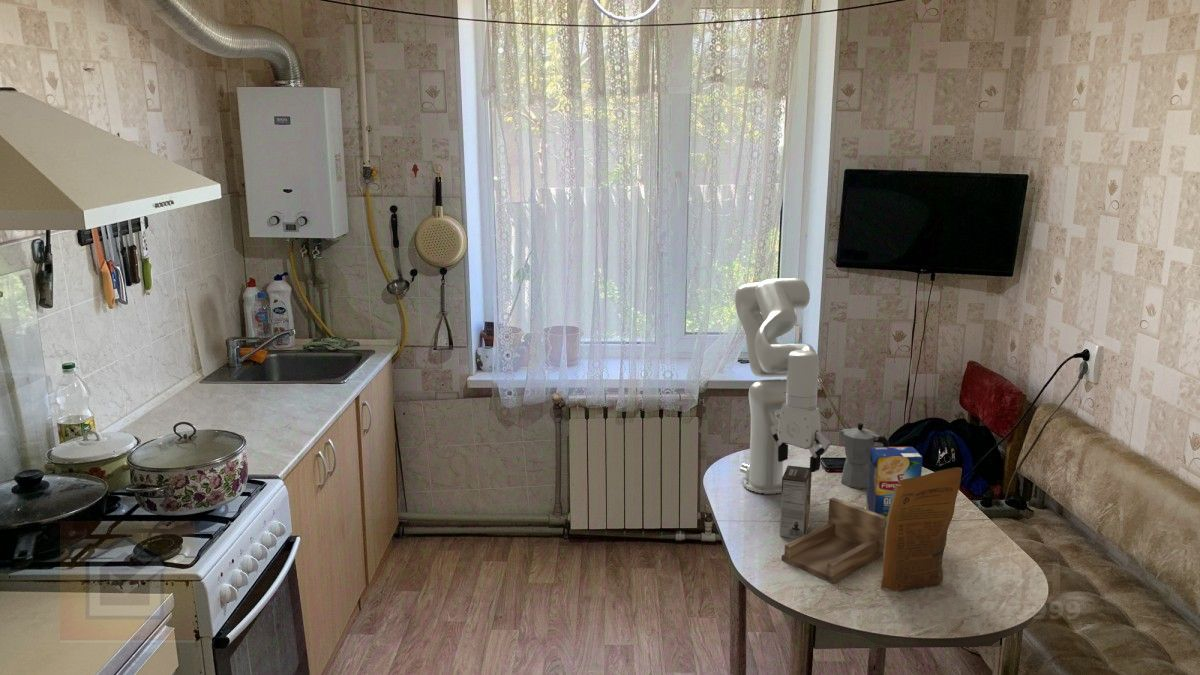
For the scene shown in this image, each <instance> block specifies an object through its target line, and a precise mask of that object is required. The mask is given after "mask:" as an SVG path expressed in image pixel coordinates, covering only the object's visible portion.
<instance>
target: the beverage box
mask: <svg viewBox="0 0 1200 675" xmlns="http://www.w3.org/2000/svg"><path fill="white" fill-rule="evenodd" d="M923 458H924V456H923V455H922V454H920V452H919V451H918V450H917V449H916V448H914V447H913V446H889V447H883V446H880V447H878V446H877V447H876V446H875V447H874V446H873V447H870V459H869V473H868V487H867V488H866V489H867V490H866V504H865V509H866V510H869V511H872V512H874V513H877V514H880V515H883V516H885V517H886V522H887V516H888V512H889V508H890V504H891V500H892V495H893V492H894V489H895V485H900V480H903V479H908V478H914V477H919V476H922V470H923V469H922V468H923ZM885 531H886V524H885ZM884 540H885V537H884Z"/></svg>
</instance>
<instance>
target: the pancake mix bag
mask: <svg viewBox="0 0 1200 675" xmlns="http://www.w3.org/2000/svg"><path fill="white" fill-rule="evenodd" d="M962 473H963V469H962V467H958V466H957V467H950V468H946V469H941V470H937V471H934V472H930V473H927V474H923V475H921V476H919V477H914V478H908V479H903V480H900V485H895V489H894V492H893V495H892V500H891V504H890V508H889V512H888V516H887V522H886V531H885V539H884V550H883V559H882V560H883V561H882V565H883V566H882V578H881V580H882V581H881V583H880V584H881V585H880V588H881V589H885V590H887V591H888V590H889V591H891V592H905V591H910V590H916V589H923V588H928V587H935V586H940V585H941V584H942V583H943V580H944V572H943V558H944V554H945V549H946V546H947V538H948V529H949V527H950V524H951V521H952V519H953V516H954V513H955V506H956V500H957V496H958V493H959V491H960V487H961V486H960V485H961V480H962Z"/></svg>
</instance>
